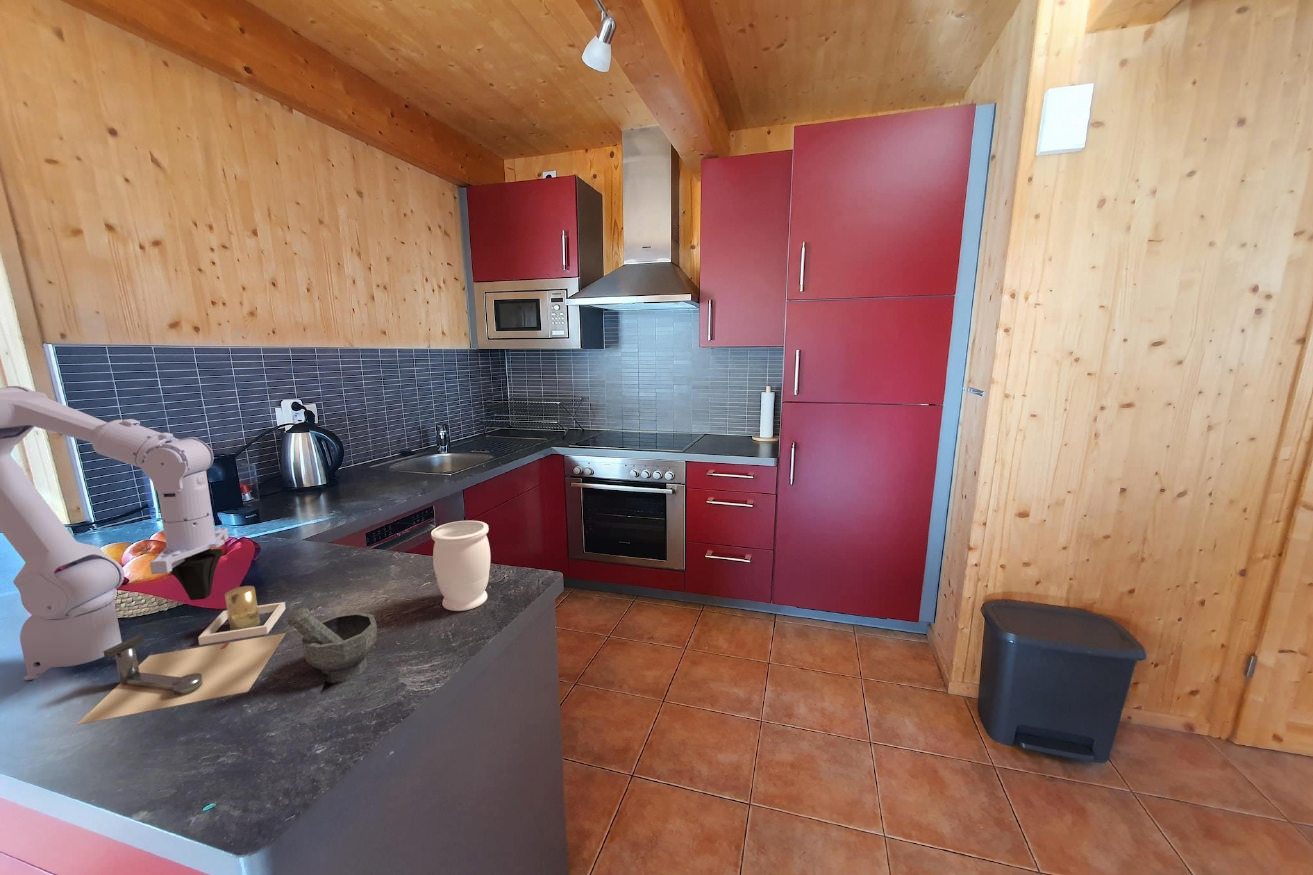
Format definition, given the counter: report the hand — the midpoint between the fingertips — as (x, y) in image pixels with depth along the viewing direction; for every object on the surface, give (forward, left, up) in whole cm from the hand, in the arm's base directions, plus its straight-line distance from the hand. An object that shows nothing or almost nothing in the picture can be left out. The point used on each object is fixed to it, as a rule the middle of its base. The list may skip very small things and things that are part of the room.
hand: (200, 597), depth 80 cm
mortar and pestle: (+21, -14, -10) cm, 27 cm away
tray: (+3, +5, -9) cm, 11 cm away
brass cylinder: (+3, +5, -9) cm, 11 cm away
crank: (-1, -11, -8) cm, 13 cm away
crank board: (+2, -9, -9) cm, 13 cm away
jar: (+39, +3, -10) cm, 41 cm away
